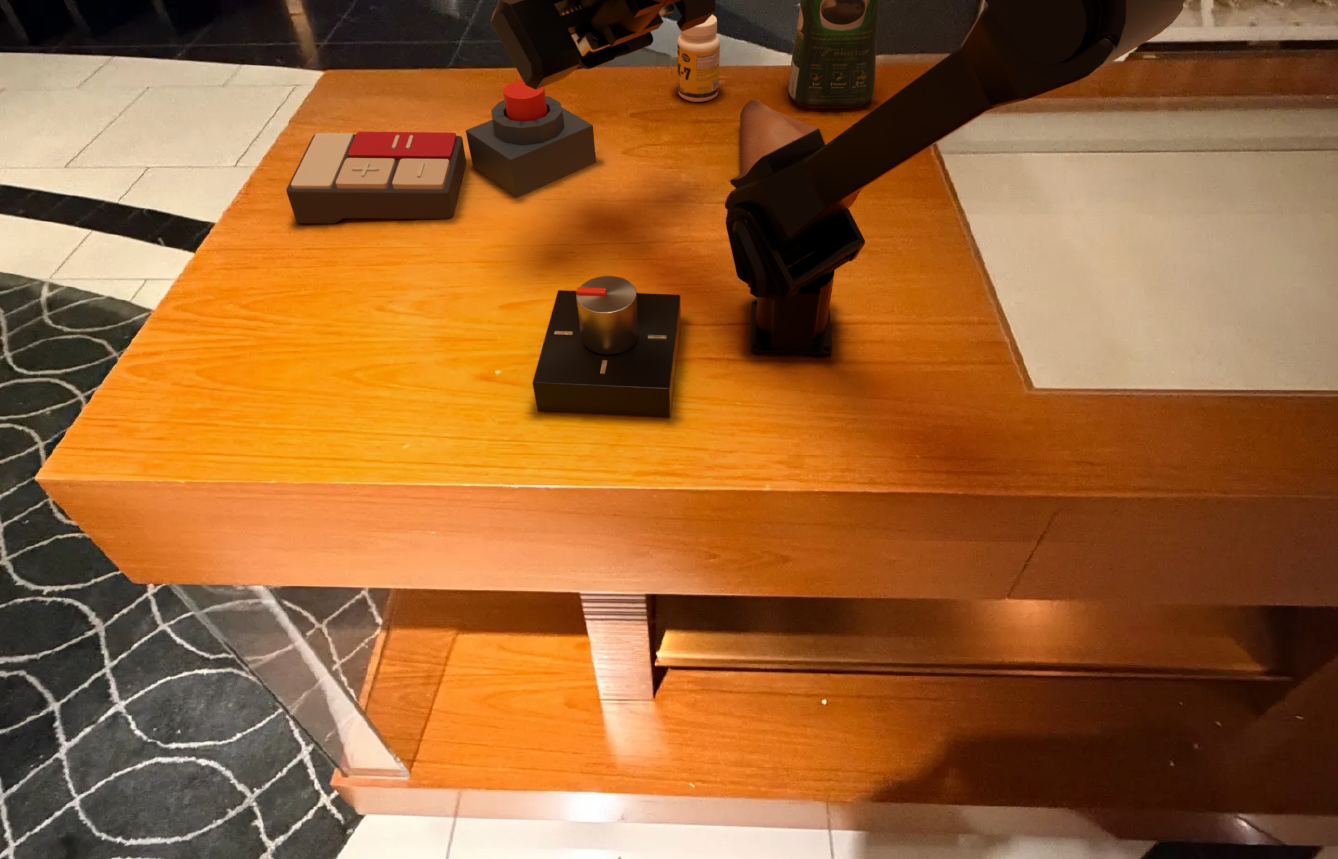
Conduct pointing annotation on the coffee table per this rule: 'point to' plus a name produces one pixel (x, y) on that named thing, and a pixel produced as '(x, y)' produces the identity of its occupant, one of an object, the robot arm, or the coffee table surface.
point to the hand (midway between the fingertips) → (572, 64)
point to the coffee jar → (834, 53)
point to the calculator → (378, 176)
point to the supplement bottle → (699, 62)
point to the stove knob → (608, 314)
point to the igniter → (531, 148)
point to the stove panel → (610, 363)
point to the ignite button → (524, 102)
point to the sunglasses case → (766, 132)
